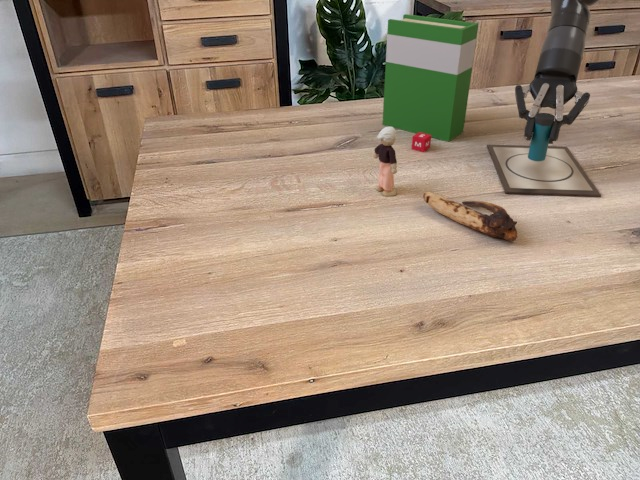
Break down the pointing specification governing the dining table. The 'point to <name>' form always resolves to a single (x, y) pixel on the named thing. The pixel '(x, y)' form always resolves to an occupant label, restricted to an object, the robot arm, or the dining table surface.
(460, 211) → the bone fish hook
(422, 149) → the dice
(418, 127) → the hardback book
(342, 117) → the dining table surface
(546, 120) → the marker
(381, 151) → the grandmother figurine
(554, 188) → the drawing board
